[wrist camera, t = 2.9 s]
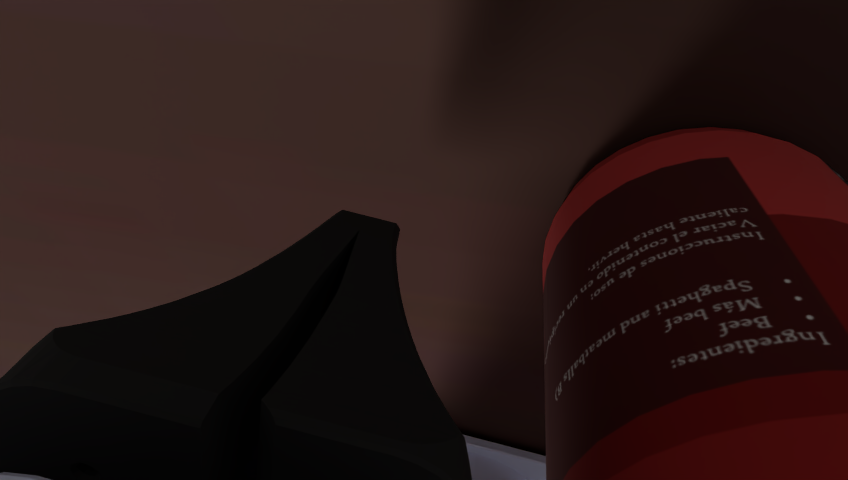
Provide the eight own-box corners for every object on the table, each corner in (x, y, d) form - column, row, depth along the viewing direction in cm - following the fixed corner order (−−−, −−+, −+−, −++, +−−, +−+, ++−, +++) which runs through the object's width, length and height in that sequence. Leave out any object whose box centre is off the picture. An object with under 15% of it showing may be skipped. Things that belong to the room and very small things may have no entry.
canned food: (786, 369, 18) (1060, 905, 9) (523, 332, 19) (514, 784, 9) (912, 133, 14) (1706, 683, 4) (565, 100, 14) (623, 503, 5)
